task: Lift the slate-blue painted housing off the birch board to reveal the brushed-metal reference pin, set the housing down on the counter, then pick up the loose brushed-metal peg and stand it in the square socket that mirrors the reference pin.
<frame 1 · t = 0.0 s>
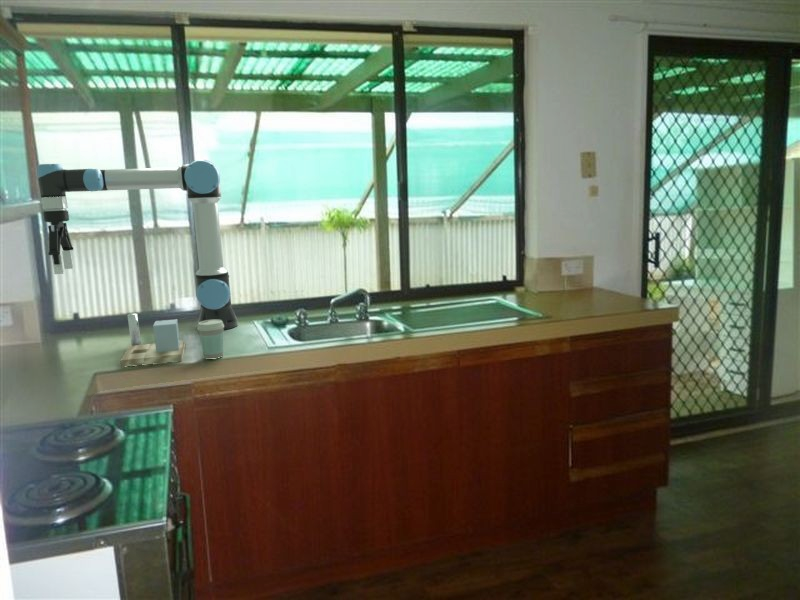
hand: (64, 271, 211), 28 cm above the worktop, fingers open, 13 cm apart
peg: (136, 346, 216), on the worktop
board: (155, 357, 202), on the worktop
coffee cup: (213, 357, 199), on the worktop
housing: (168, 348, 202), point 2 cm above the worktop, touching board
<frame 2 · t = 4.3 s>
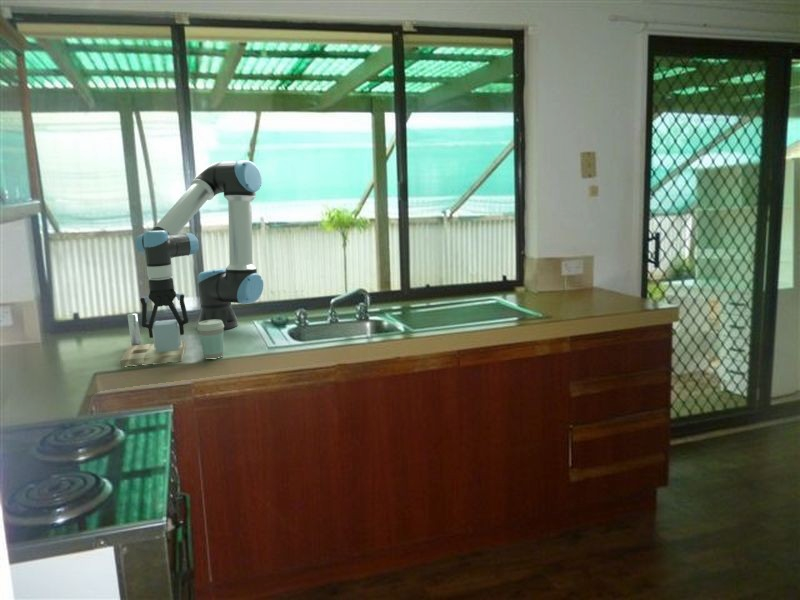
hand: (168, 345, 202), 4 cm above the worktop, fingers closed on housing, 7 cm apart
housing: (168, 348, 202), point 3 cm above the worktop, touching board, gripper
everything else where it was.
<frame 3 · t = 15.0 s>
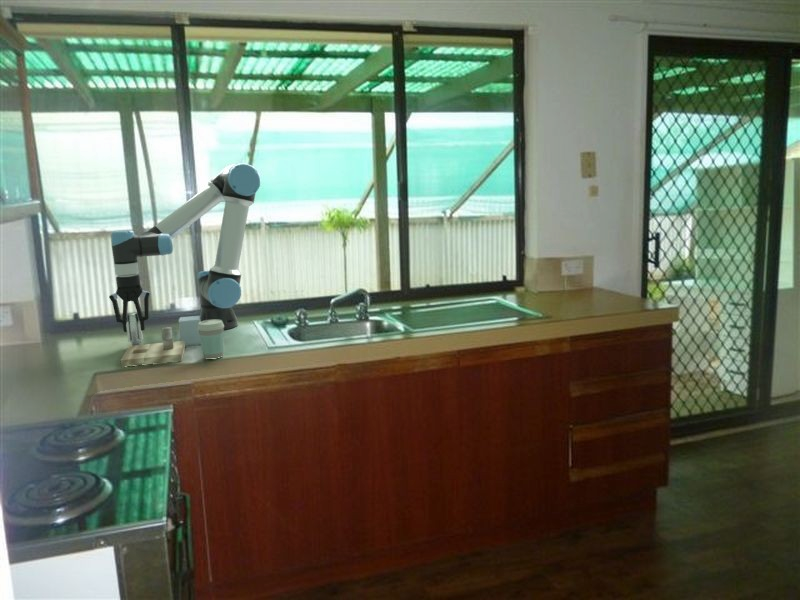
hand: (135, 339, 215), 3 cm above the worktop, fingers closed on peg, 3 cm apart
peg: (136, 346, 216), on the worktop, touching gripper
housing: (192, 342, 219), on the worktop
everything else where it was.
when the fingers open (4 cm above the worktop, at t = 20.7 s): peg stays where it is, resting in board.
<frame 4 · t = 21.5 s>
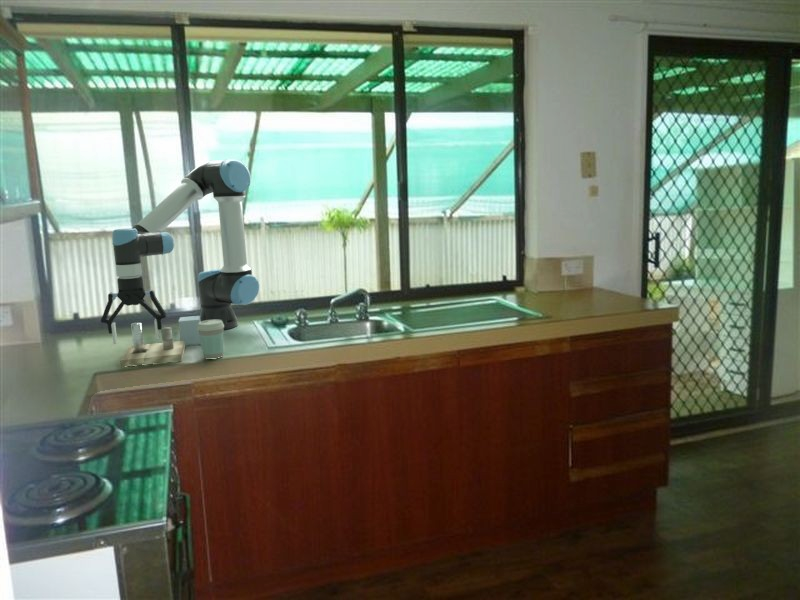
hand: (136, 341, 199), 6 cm above the worktop, fingers open, 12 cm apart
peg: (140, 358, 200), resting in board
everything else where it was.
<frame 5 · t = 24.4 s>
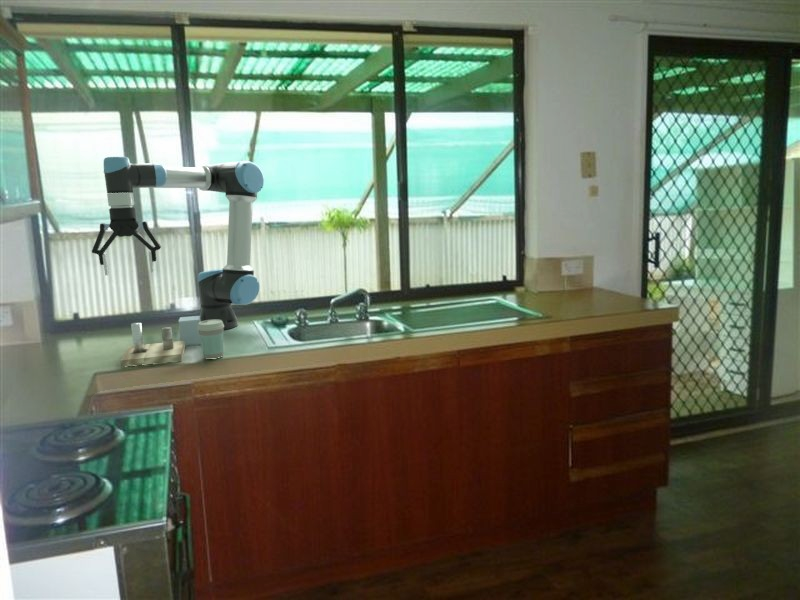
hand: (130, 273, 195), 29 cm above the worktop, fingers open, 13 cm apart
nothing on the worktop moved.
at the end: peg 0.1 cm from the target spot on the board, point 0.0 cm above the board's base; peg tilted 0°; housing inside the target area (0.0 cm from its centre), on the worktop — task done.
